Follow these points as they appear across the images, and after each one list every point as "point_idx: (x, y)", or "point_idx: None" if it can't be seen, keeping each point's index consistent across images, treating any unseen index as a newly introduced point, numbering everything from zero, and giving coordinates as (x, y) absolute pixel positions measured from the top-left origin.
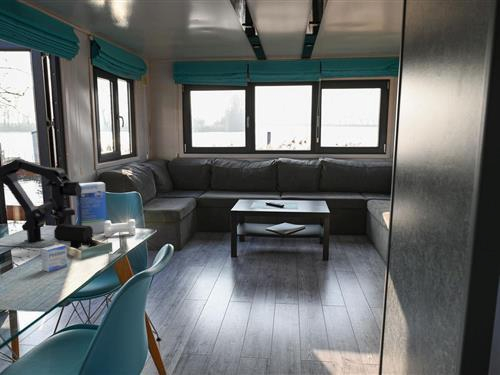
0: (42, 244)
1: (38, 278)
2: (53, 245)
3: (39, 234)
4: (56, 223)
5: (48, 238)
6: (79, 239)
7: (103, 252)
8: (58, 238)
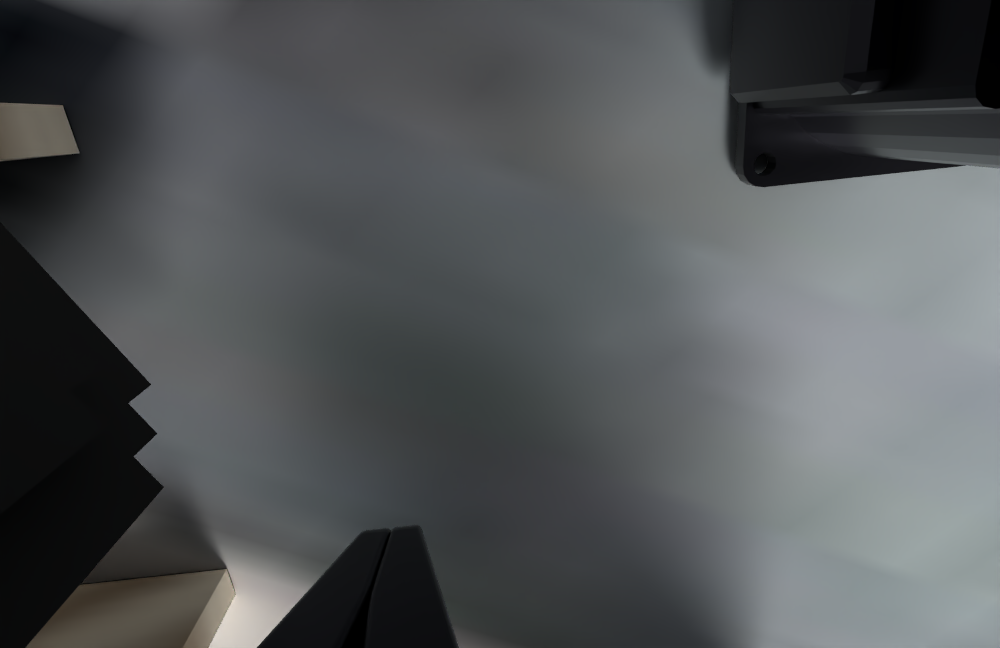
0: (504, 46)
1: None
2: (5, 103)
3: (811, 59)
4: (439, 635)
5: (824, 294)
6: None
7: None
8: None
